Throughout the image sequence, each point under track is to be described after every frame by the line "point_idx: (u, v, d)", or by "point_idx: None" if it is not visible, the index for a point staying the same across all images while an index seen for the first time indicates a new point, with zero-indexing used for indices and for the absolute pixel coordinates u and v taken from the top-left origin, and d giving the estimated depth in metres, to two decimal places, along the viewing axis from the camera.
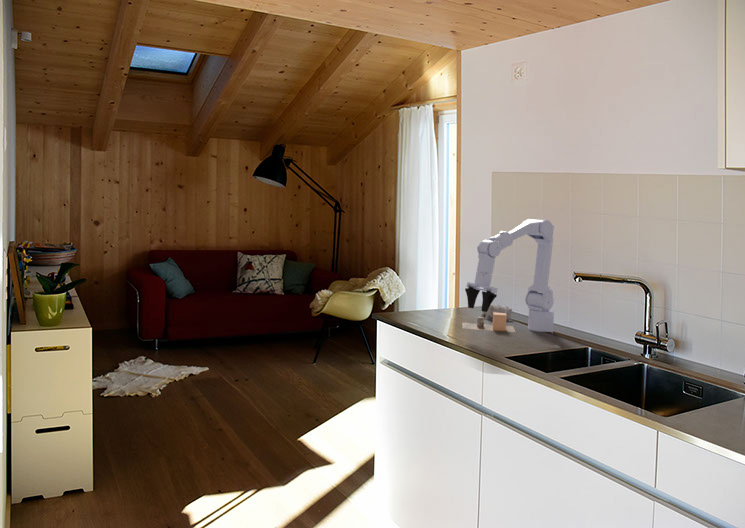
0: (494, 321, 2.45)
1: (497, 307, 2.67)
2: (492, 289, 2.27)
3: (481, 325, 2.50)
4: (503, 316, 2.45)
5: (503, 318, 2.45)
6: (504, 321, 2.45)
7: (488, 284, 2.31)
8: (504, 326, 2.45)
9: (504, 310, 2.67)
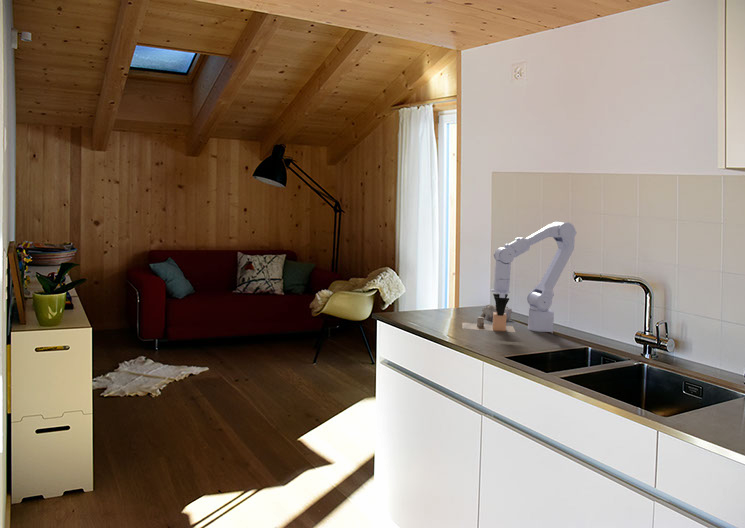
0: (494, 321, 2.45)
1: None
2: (499, 294, 2.40)
3: (481, 325, 2.50)
4: (503, 316, 2.45)
5: (503, 318, 2.45)
6: (504, 321, 2.45)
7: (503, 289, 2.43)
8: (504, 326, 2.45)
9: None
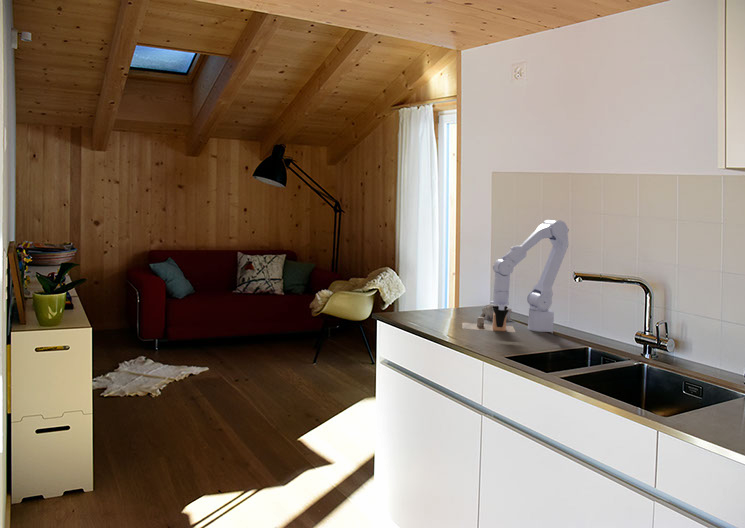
0: (494, 321, 2.45)
1: None
2: (499, 306, 2.40)
3: (481, 325, 2.50)
4: None
5: None
6: (504, 321, 2.45)
7: (502, 301, 2.44)
8: (504, 326, 2.45)
9: None
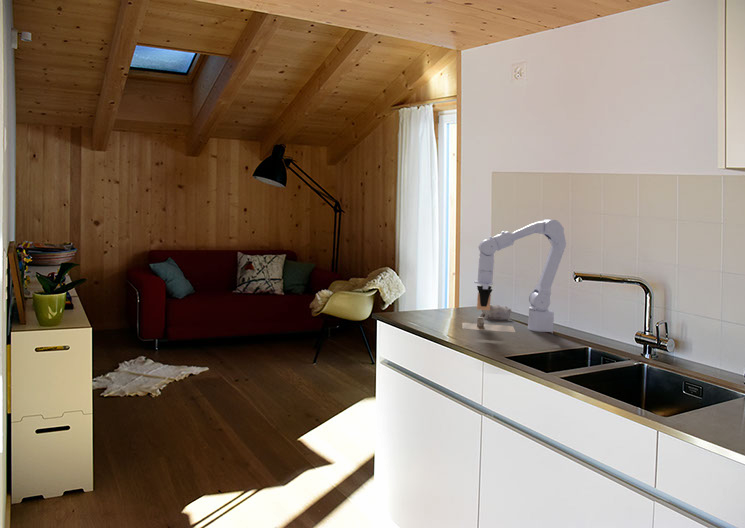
0: (478, 301, 2.48)
1: (496, 307, 2.67)
2: (482, 285, 2.43)
3: (481, 325, 2.50)
4: None
5: None
6: (488, 301, 2.47)
7: (486, 281, 2.46)
8: (488, 306, 2.48)
9: (503, 310, 2.67)
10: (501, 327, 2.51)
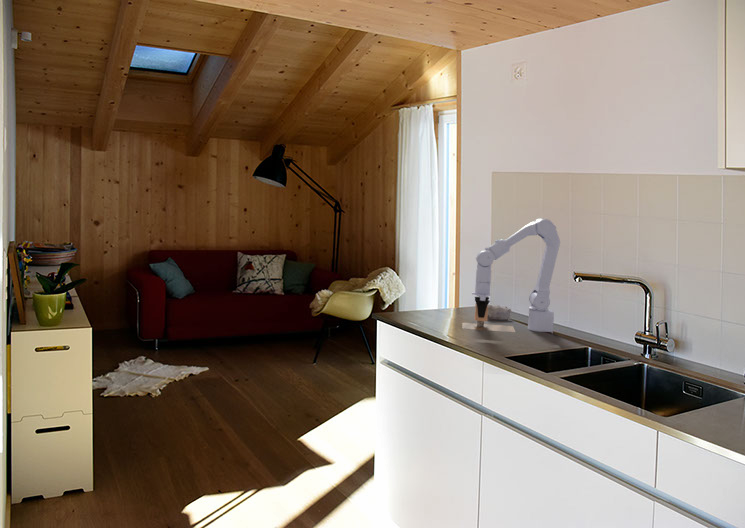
0: (476, 312, 2.49)
1: (496, 307, 2.67)
2: (480, 297, 2.44)
3: (481, 325, 2.50)
4: None
5: None
6: (486, 312, 2.48)
7: (484, 292, 2.47)
8: (486, 317, 2.49)
9: (503, 310, 2.67)
10: (501, 327, 2.51)
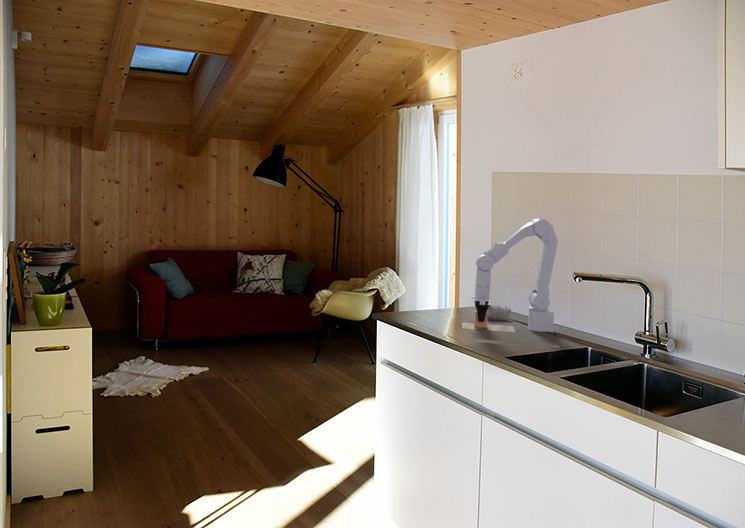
0: (475, 318, 2.49)
1: (496, 307, 2.67)
2: (480, 301, 2.44)
3: None
4: None
5: None
6: (485, 318, 2.49)
7: (483, 296, 2.48)
8: (485, 323, 2.49)
9: (503, 310, 2.67)
10: (501, 327, 2.51)
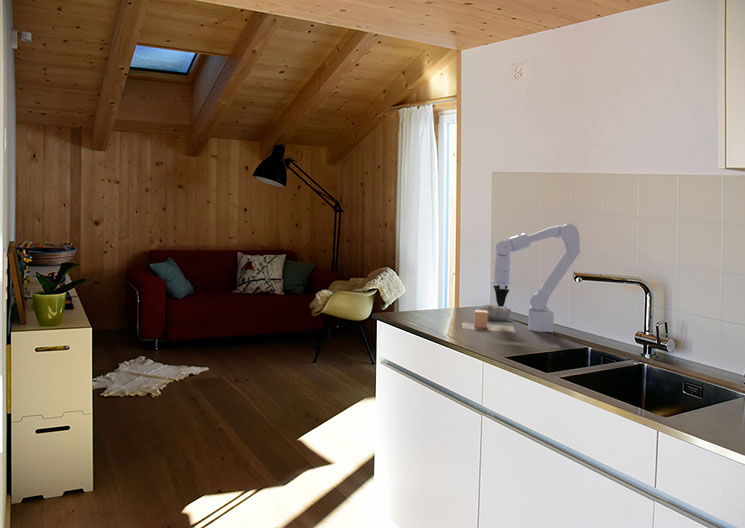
0: (475, 318, 2.49)
1: (495, 307, 2.67)
2: (500, 285, 2.47)
3: None
4: (484, 313, 2.49)
5: (484, 315, 2.49)
6: (485, 318, 2.49)
7: (503, 281, 2.50)
8: (485, 323, 2.49)
9: (503, 310, 2.67)
10: (501, 327, 2.51)
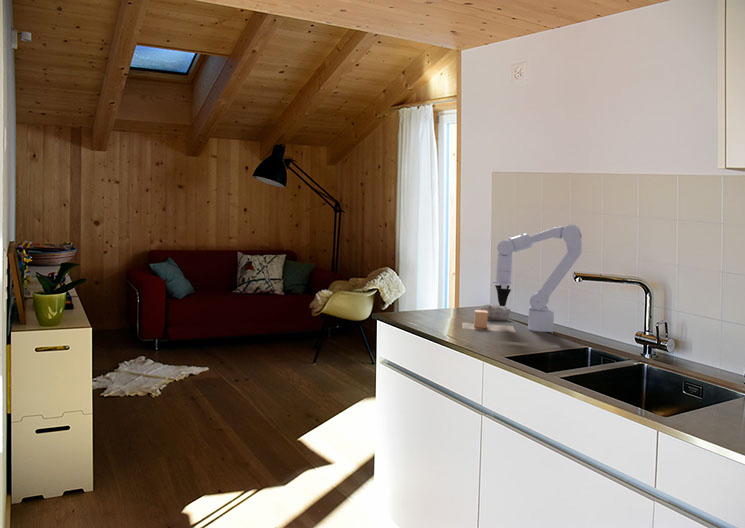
0: (475, 318, 2.49)
1: (495, 307, 2.67)
2: (501, 285, 2.47)
3: None
4: (484, 313, 2.49)
5: (484, 315, 2.49)
6: (485, 318, 2.49)
7: (505, 280, 2.51)
8: (485, 323, 2.49)
9: (502, 310, 2.67)
10: (501, 327, 2.51)
